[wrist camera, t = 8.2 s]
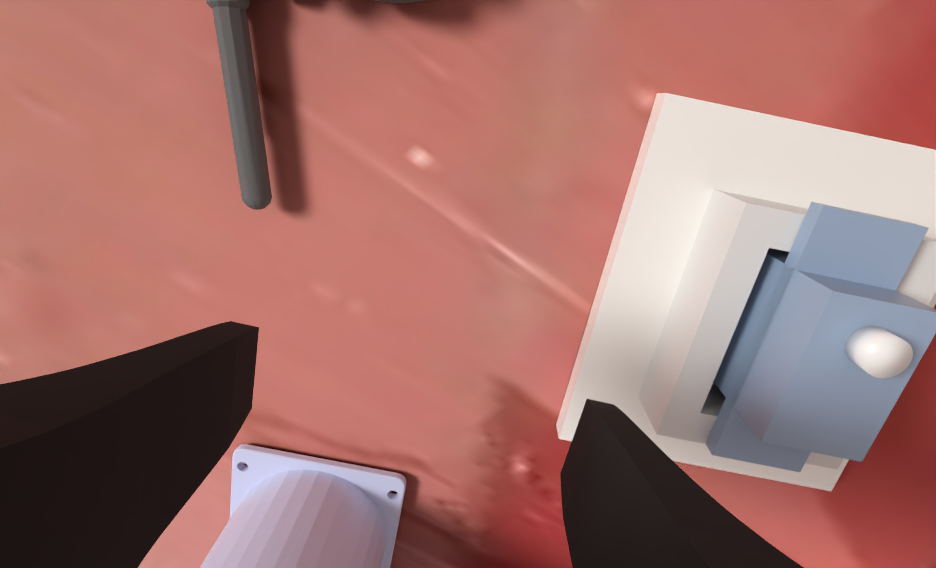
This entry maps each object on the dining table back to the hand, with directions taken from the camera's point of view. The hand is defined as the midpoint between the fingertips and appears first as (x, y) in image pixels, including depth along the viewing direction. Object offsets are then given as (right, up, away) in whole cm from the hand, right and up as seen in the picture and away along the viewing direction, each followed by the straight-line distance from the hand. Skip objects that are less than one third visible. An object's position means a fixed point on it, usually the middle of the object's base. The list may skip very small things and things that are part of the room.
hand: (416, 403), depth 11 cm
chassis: (+12, +2, +9) cm, 16 cm away
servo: (+12, +1, +8) cm, 15 cm away
